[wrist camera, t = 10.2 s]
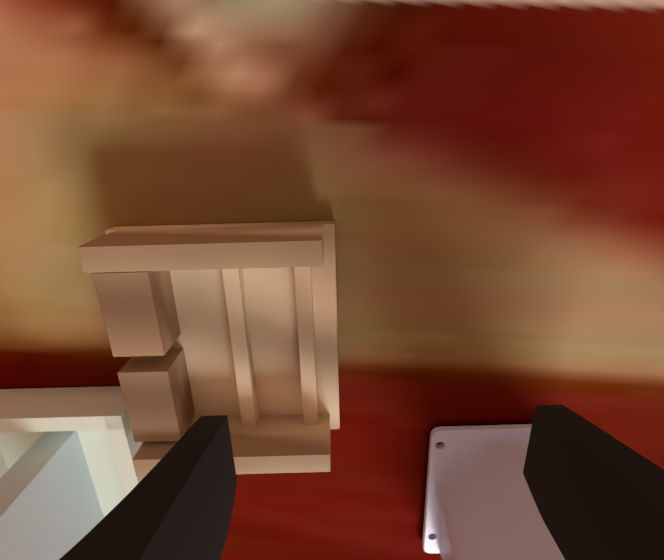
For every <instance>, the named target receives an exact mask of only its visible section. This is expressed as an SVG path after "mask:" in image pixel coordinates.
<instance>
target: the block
mask: <svg viewBox="0 0 664 560" xmlns="http://www.w3.org/2000/svg"><path fill="white" fill-rule="evenodd" d="M103 518H104V516H103V513H102V510H101V506H100V503H99V500H98V497H97V493H96V490H95V487H94V484H93V481H92V477H91V474H90V471H89V468H88V465H87V461H86V458H85V455H84V452H83V448H82V445H81V442H80V439H79V436H78V432H77V431H51V432H44V433H43V434H42V435H41V436H40V437H39V438H38V440H37V441H36V442H35V443H34V444H33V445H32V446H31V447H30V448H29V449H28V450H27V451H26V452H25V453H24V454H23V455H22V456H21V457H20V458H19V459H18V460H17V461H16V462H15V463H14V464H13V465H12V466H11V467H10V468H9V470H8V471H7V472H6V473H5V474H4V475H3V476H2V477H1V478H0V560H59V559H60V558H61V557H62V556H64V555H65V554H66V553H67V552H68V551H69V550H70V549H71V548H72V547H74V546H75V545H76V544H77V543H78V542H79V541H80V540H81V539H82V538H83V537H84V536H85V535H87V534H88V533H89V532H90V531H91V530H92V529H93V528H94V527H95V526H96V525H97V524H98V523H99V522H100V521H101V520H102V519H103Z"/></svg>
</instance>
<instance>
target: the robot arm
mask: <svg viewBox="0 0 664 560" xmlns="http://www.w3.org/2000/svg"><path fill="white" fill-rule="evenodd" d="M438 442H442V443H441V444H437V443H438ZM236 486H237V477H236V471H235V464H234V457H233V450H232V444H231V437H230V430H229V423H228V417H227V415H215V416H201V417H200V418H199V419H198V420H197V421H196V422H195V423H194V424H193V425H192V426H191V427H190V428H189V429H188V430H187V432H186V433H185V434H184V435H183V436H182V437H181V438H180V439H179V440H178V441H177V443H176V444H175V445H174V446H173V447H172V448H171V449H170V450H169V451H168V452H167V453H166V455H165V456H164V457H163V458H162V459H161V460H160V461H159V462H158V463H157V464H156V465H155V466H154V467H153V468H152V470H151V471H150V472H149V473H148V474H147V475H146V476H145V477H144V478H143V479H142V480H141V481H140V482H139V483H138V484H137V485H136V486H135V487H134V488H133V489H132V490H131V492H130V493H129V494H128V495H127V496H126V497H125V498H124V499H123V500H122V501H121V502H120V503H119V504H117V505H116V506H115V507H114V508H113V509H112V510H111V511H110V512H109V513H108V514H107V515H106V516H105V517H104V518H103V519H102V520H101V521H100V522H99V523H98V524H97V525H96V526H95V527H94V528H93V529H92V530H91V531H90V532H89V533H88V534H87V535H85V536H84V537H83V538H82V539H81V540H80V541H79V542H78V543H77V544H76V545H75V546H74V547H72V548H71V549H70V550H69V551H68V552H67V553H66V554H65V555H64V556H62V557H61V558H60V559H59V560H220V558H221V555H222V551H223V548H224V544H225V541H226V537H227V533H228V530H229V525H230V520H231V514H232V509H233V503H234V497H235V491H236ZM422 545H423V549H424V551H425V552H427V553H440V554H441V558H442V560H664V470H663V469H662V468H660V467H658V466H657V465H655V464H654V463H652V462H651V461H649V460H647V459H646V458H644V457H643V456H641V455H640V454H638V453H637V452H635V451H634V450H632V449H630V448H629V447H627V446H626V445H624V444H623V443H621V442H620V441H618V440H617V439H615V438H614V437H612V436H611V435H609V434H607V433H606V432H604V431H603V430H601V429H600V428H598V427H597V426H595V425H594V424H592V423H591V422H589V421H587V420H586V419H584V418H583V417H581V416H580V415H578V414H576V413H575V412H573V411H571V410H570V409H568V408H566V407H564V406H563V405H542V406H535V411H534V416H533V422H532V424H516V425H479V426H442V427H436V428H434V429H433V430H432V431H431V433H430V443H429V456H428V470H427V483H426V497H425V510H424V523H423V537H422Z"/></svg>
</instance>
